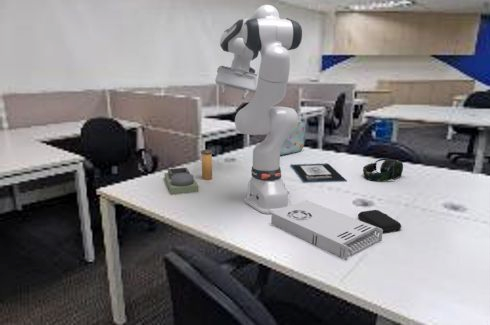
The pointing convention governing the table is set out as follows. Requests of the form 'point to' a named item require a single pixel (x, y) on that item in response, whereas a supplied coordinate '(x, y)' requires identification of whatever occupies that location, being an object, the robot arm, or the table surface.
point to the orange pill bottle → (206, 164)
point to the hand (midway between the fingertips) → (233, 96)
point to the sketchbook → (317, 173)
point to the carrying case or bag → (379, 220)
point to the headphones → (383, 170)
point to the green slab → (180, 181)
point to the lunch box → (294, 140)
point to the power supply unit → (327, 228)
